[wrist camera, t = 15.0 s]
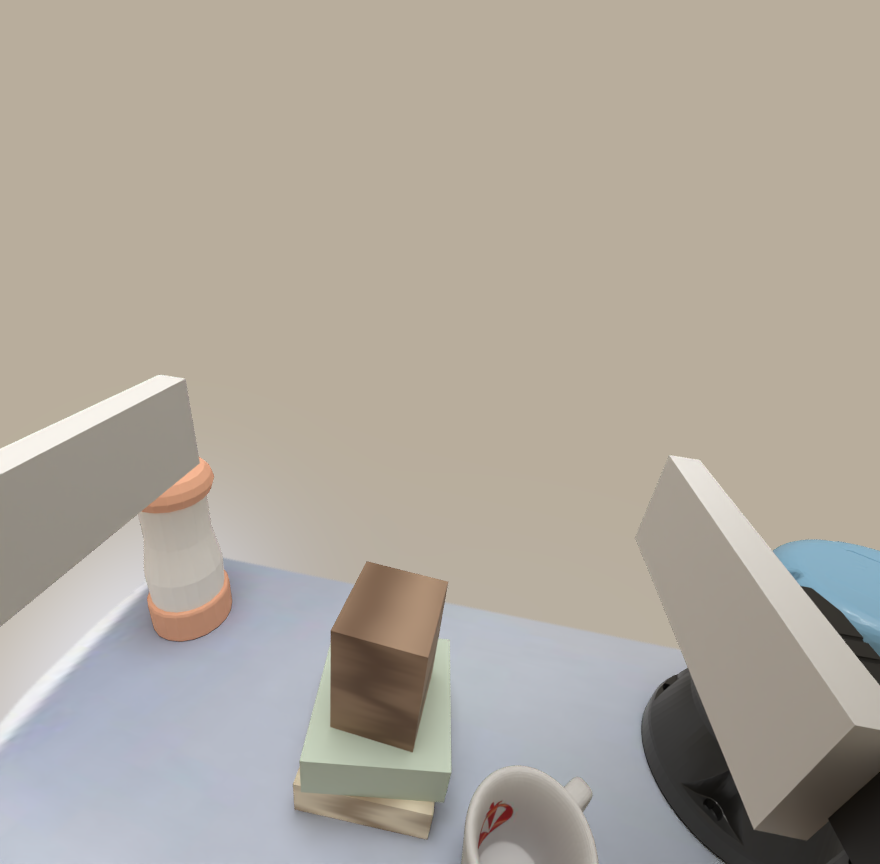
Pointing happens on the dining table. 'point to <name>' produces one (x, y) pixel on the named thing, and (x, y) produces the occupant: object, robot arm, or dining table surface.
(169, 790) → the dining table surface
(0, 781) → the dining table surface
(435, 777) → the tower top block
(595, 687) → the dining table surface
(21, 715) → the dining table surface
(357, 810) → the tower bottom block
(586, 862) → the cup
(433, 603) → the walnut block
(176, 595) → the pepper shaker
